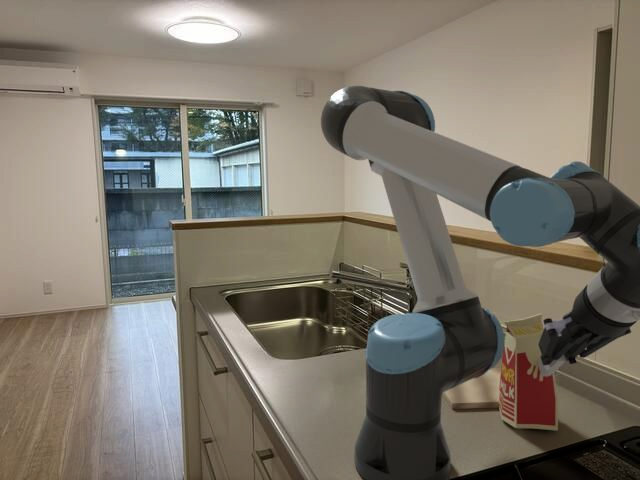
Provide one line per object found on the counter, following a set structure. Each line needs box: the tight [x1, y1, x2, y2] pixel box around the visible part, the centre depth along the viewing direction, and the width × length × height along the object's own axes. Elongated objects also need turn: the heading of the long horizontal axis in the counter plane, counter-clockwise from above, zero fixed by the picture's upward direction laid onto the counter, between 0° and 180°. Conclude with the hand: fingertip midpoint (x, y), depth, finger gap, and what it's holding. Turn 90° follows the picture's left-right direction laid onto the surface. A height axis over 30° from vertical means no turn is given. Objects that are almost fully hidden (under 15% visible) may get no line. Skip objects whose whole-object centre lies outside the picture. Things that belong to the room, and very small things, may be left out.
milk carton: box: [498, 313, 559, 431], centre depth 88 cm, size 9×9×20 cm
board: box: [442, 366, 501, 410], centre depth 102 cm, size 18×16×1 cm
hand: (543, 368), depth 84 cm, fingers closed
